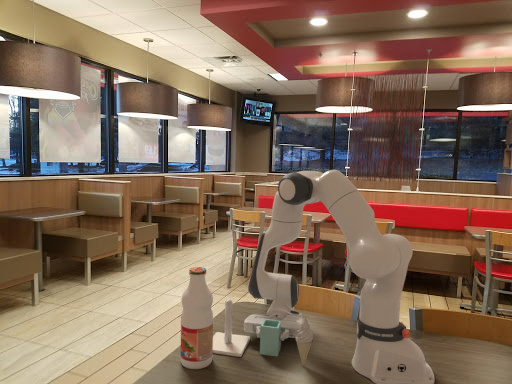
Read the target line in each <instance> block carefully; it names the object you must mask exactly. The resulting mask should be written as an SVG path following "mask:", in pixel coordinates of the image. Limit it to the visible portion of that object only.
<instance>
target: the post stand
mask: <svg viewBox="0 0 512 384" xmlns="http://www.w3.org/2000/svg"><path fill="white" fill-rule="evenodd" d="M250 341H251V336H249V335H243V334H233V301H232V300H231V299H226V300H225V302H224V332H218V331H216V332H215V334H213V354H218V355H223V356H225V355H226V356H230V357H231V356H232V357H240V358H241V357H242V356H243V354H244V352H245V350H246V348H247V346H248V345H249V343H250Z"/></svg>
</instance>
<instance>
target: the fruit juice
mask: <svg viewBox="0 0 512 384" xmlns="http://www.w3.org/2000/svg"><path fill="white" fill-rule="evenodd" d="M188 275H189V281H188V285H187V287H186V288H185V290H184V291H183V292H182V295H181V306H182V311H181V315H180V363H181V365H182V366H183V367H185V368H186V369H189V370H199V369H204V368H206V367H208V366H210V365H211V363H212V361H213V354H214V353H213V336H214V313H213V309H212V306H213V303H214V295H213V292H212V291H211V289H210V288H209V287H208V285H207V281H206V276H207V268H206V267H202V266H193V267H191V268H189V272H188Z"/></svg>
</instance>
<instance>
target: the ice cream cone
mask: <svg viewBox="0 0 512 384" xmlns="http://www.w3.org/2000/svg"><path fill="white" fill-rule="evenodd" d="M303 320H304V321H303V323H302V324H301V328H300V329H299V330H298V331H297V332H298V334H297V337H296V338H295V341H296V345H297V349H298V353H299V357H300V362H301V365H302V367H305V364H306V361H307V358H308V355H309V352H310V349H311V346H312V343H313V341H314V333H313V330H312V329H311V328H310V324H309V322H308V320H307V316H305V317H304V318H303Z"/></svg>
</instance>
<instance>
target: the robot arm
mask: <svg viewBox="0 0 512 384" xmlns="http://www.w3.org/2000/svg"><path fill="white" fill-rule="evenodd" d="M321 202H322V203H323V205H324V206H325V208H326V209H327V210H328V212H329V214H330V215H331V217H332V218H333V220H334V221H335V223H336V224H337V225H338V228H339V229H340V231H341V232H342V235H343V236H344V238H345V239H344V240H345V242H346V244H347V248H348V250H349V252H348V253H349V256H348V264H349V267H350V268H351V269H350V270H351V271H352V272H353V273H354V274H355V275H356V276H357V277H359V278H360V279H363V280H365V282H364V284H363V286H362V288H361V291H360V296H359V297H360V298H359V316H358V317H357V321H356V337H357V339H356V340H357V341H356V346H355V349H354V355H353V357H352V359H351V366H352V368H353V369H354V370H355V371H356V372H357V373H359V374H360V375H362V376H364V377H366V378H368V379H369V380H370V381H372V382H373V383H374V384H435V374H434V371H433V369H432V367H431V366H430V365H429V364H428V362H426V358H425V354H424V352H423V350H422V349H421V347H420V346H418V344H416V342H414V341H412V340H411V339H410V337H411V332H410V330H409V329H407V326H406V325H405V324H404V322H403V321H400V316H401V315H400V313H401V299H402V294H403V293H402V292H403V288H404V284H405V281H406V278H407V277H406V276H407V273H408V266H409V264H410V261H411V260H412V257H413V251H414V250H413V246H412V244H411V242H410V240H408V239H407V238H406V237H405V236H403V235H401V234H396V233H385V234H382V233H381V232H380V230H379V227H378V224H377V222H376V218H375V212H374V209H373V208H372V207H371V205H370V204H369V203H368V201H367V200H366V199H365V198H364V196H363V195H362V193H361V192H360V190H359V189H358V188H357V187H356V186H355V184H354V182H352V181H351V180H350V179H349V178H348V177H347V176H346V175H345V174H344V173H342V172H341V171H340V170H338V169H330V170H327V171H324V170H323V171H322V170H301V171H300V170H299V171H297V172H296V171H295V172H293V171H292V172H289V173H287V174H285V175H283V176H282V177H281V178H280V179H279V181H278V184H277V191H276V192H275V195H274V198H273V202H272V210H271V219H270V224H269V226H268V228H267V229H265V230H263V231H262V232H261V235H260V238H259V242H258V245H257V249H256V253H255V257H254V261H253V267H252V270H251V274H250V277H249V280H248V283H247V289H248V292H249V294H250V295H251V297H252V298H254V299H255V300H256V299H258V300H265V299H266V300H271V301H272V302H271V304H270V306H269V308H268V309H267V312H266V314H265V315H263V314H255V313H254V314H250V315H248V317H246V318H245V319H244V321H243V330H244V332H245V333H250V334H251V333H252V334H256V338H259V339H260V329H261V324H262V322H263V320H264V319H269V320H278V321H281V333H280V335H279V340H281V342H282V341H283V342H284V341H285V340H286V339H288V338H291V339H296V337H297V334H298V332H297V331H298V330H299V329H300V328H301V324H302V323H303V321H304V318H303V317H304V315H303V313H302V312H300V311H299V312H298V311H295V307H296V305H297V304H298V301H299V295H300V284H299V281H298V280H297V279H296V277H295V276H294V275H292V274H285V273H276V272H275V273H274V272H268V271H266V270H265V267H266V264H267V263H266V262H267V258H268V254H269V251H270V250H272V249H273V248H277V247H281V246H284V245H287V244H291V243H292V242H294V241H295V240H297V239H298V238H299V237H300V235H301V232H302V227H303V219H304V218H303V216H304V215H303V213H304V208H305V206H306V205H307V204H308V205H310V204H311V205H312V204H314V203H321Z"/></svg>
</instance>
